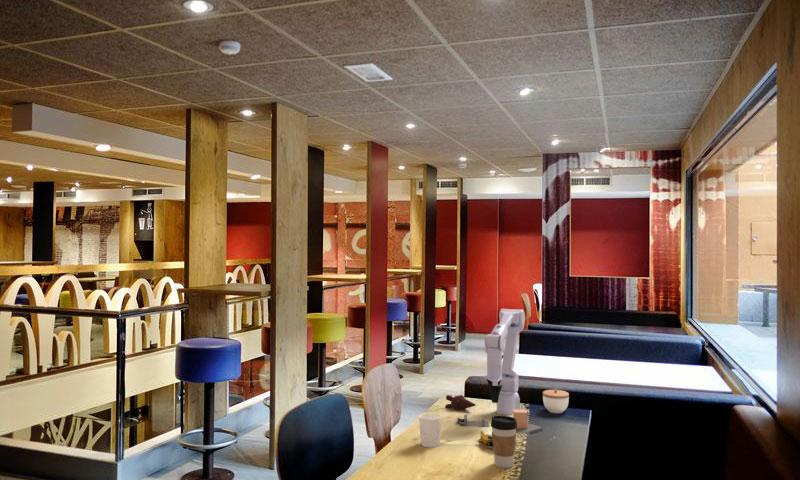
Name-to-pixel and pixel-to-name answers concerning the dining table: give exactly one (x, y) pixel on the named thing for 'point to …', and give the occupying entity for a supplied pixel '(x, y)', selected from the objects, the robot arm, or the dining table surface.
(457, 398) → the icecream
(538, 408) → the dining table surface
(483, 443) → the toy sandwich meal
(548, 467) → the dining table surface
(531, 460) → the dining table surface
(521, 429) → the mat
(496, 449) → the coffee cup
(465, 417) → the vise
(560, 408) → the lidded jar
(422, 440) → the white cup
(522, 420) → the block
